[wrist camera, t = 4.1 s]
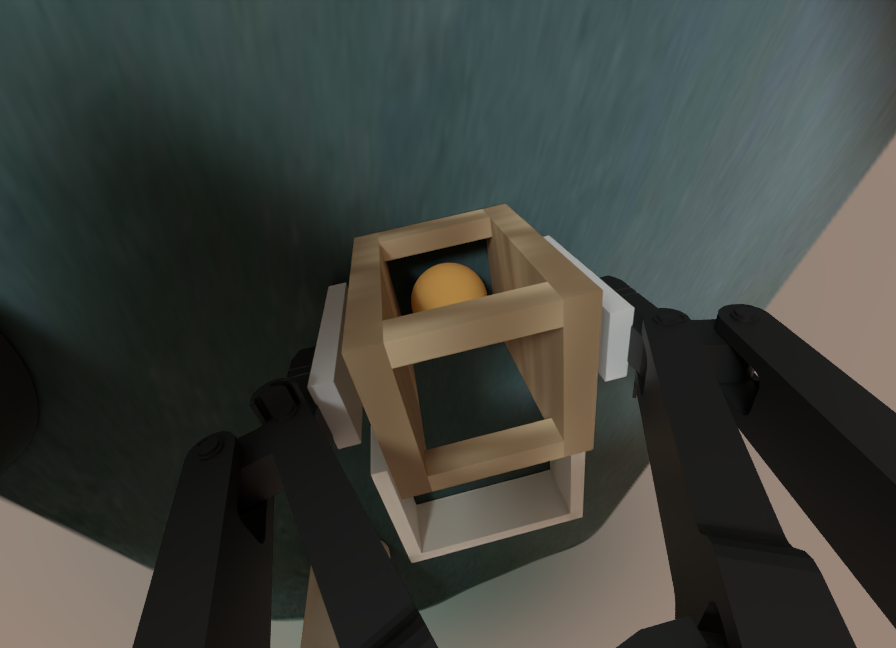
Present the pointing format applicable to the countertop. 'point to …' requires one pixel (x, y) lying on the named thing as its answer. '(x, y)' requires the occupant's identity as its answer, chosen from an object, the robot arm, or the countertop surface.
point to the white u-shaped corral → (481, 507)
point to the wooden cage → (468, 327)
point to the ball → (446, 287)
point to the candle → (319, 618)
